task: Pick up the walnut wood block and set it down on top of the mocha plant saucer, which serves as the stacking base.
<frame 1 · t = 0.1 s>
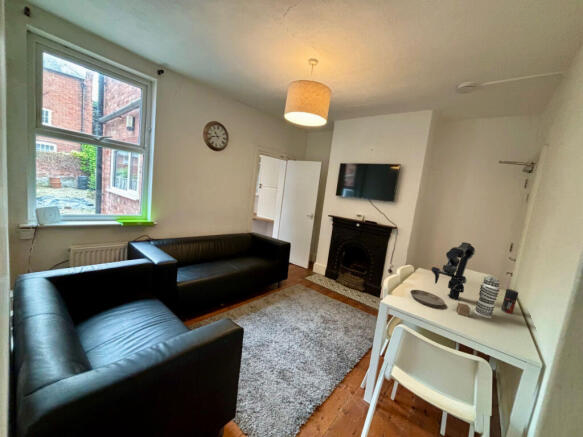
hand: (443, 286, 146), 15 cm above the table, tool tilted 35°, fingers open, 9 cm apart
walnut block: (461, 314, 144), on the table
deodorant: (506, 311, 156), on the table
decorative candle: (483, 314, 147), on the table
plant saucer: (425, 301, 157), on the table
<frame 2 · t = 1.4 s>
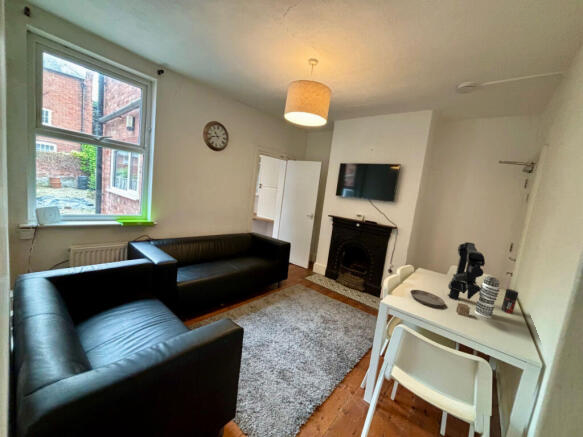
hand: (465, 295, 142), 12 cm above the table, tool pointing down, fingers open, 9 cm apart
nothing on the table moved.
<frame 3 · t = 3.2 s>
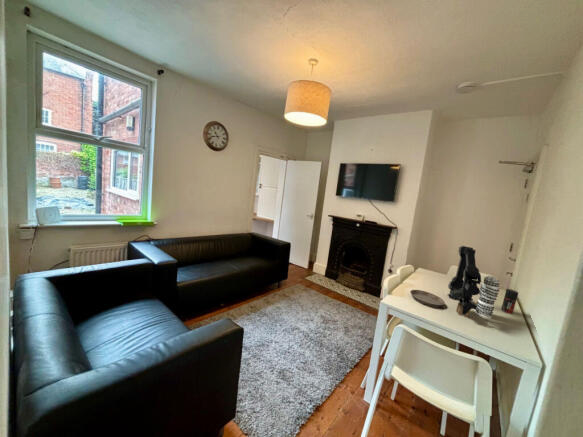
hand: (462, 312, 144), 1 cm above the table, tool pointing down, fingers closed on walnut block, 5 cm apart
walnut block: (461, 314, 144), on the table, touching gripper
everything else where it was.
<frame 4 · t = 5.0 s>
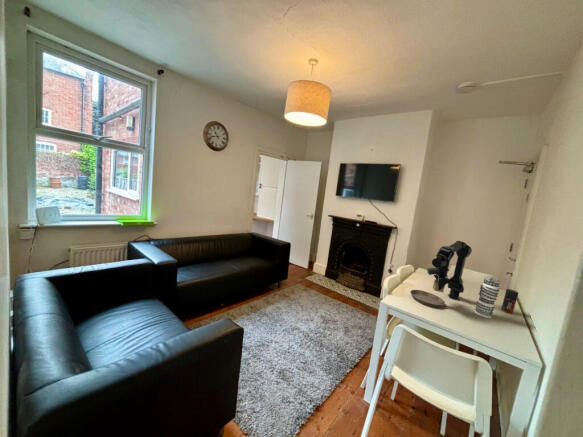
hand: (438, 288, 152), 11 cm above the table, tool pointing down, fingers closed on walnut block, 5 cm apart
walnut block: (437, 290, 152), point 10 cm above the table, touching gripper
everything else where it was.
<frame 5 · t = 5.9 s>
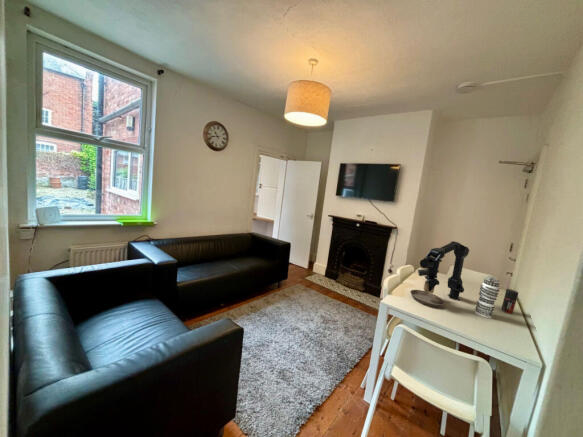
hand: (428, 289, 156), 8 cm above the table, tool pointing down, fingers closed on walnut block, 5 cm apart
walnut block: (428, 290, 156), point 7 cm above the table, touching gripper
everything else where it was.
when the fingers open (5 cm above the table, at t = 6.8 s): walnut block stays where it is, resting on plant saucer.
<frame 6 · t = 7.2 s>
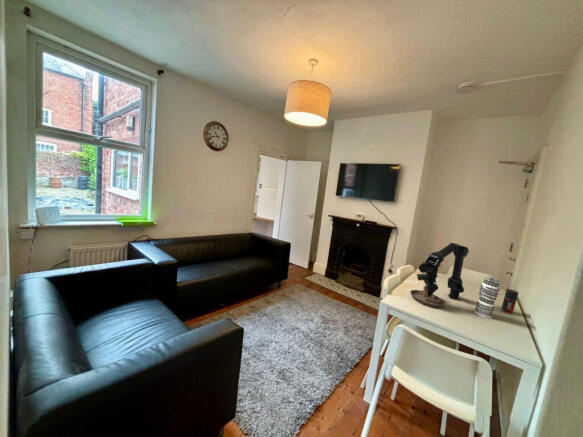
hand: (427, 293, 157), 5 cm above the table, tool pointing down, fingers open, 9 cm apart
walnut block: (427, 296, 157), point 3 cm above the table, touching plant saucer
plant saucer: (425, 301, 157), on the table, touching walnut block
everything else where it was.
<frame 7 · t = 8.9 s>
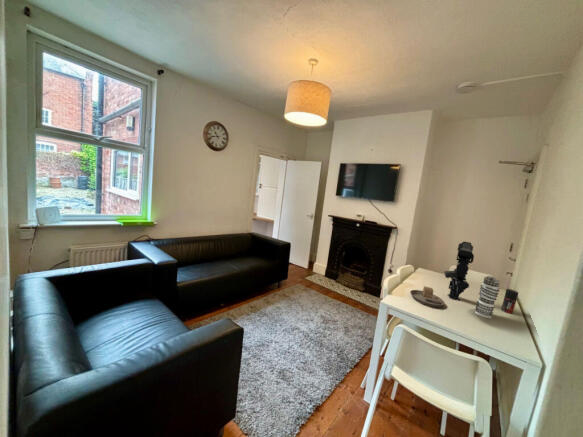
hand: (456, 292, 147), 12 cm above the table, tool pointing down, fingers open, 9 cm apart
nothing on the table moved.
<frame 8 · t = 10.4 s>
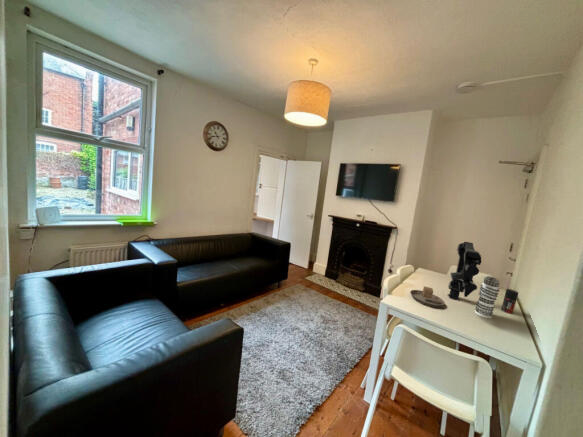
hand: (462, 293, 146), 12 cm above the table, tool pointing down, fingers open, 9 cm apart
nothing on the table moved.
at the end: walnut block inside the target area on the plant saucer (0.1 cm from its centre), point 3.5 cm above the plant saucer's base; walnut block tilted 0°; the gripper is holding nothing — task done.
